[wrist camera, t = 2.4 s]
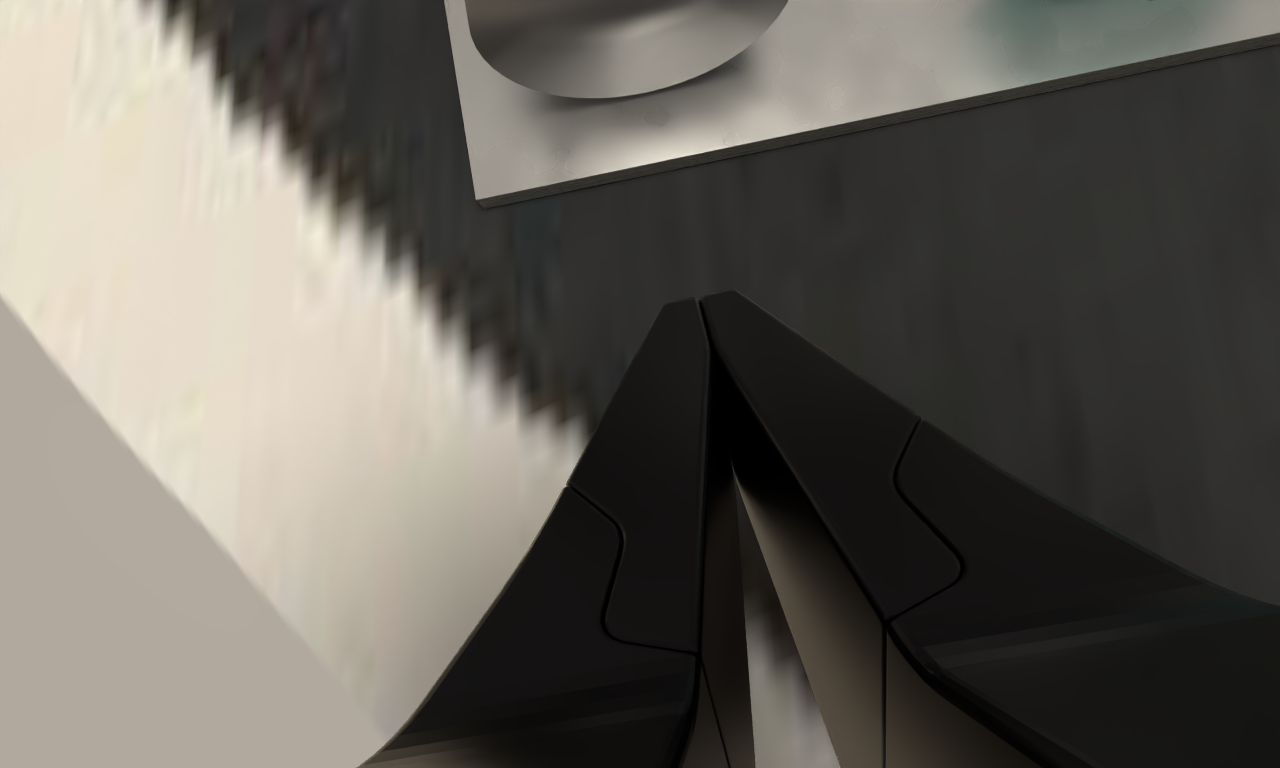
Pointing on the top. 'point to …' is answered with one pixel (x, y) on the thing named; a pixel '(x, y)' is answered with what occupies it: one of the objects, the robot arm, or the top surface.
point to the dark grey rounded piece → (613, 41)
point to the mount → (829, 81)
